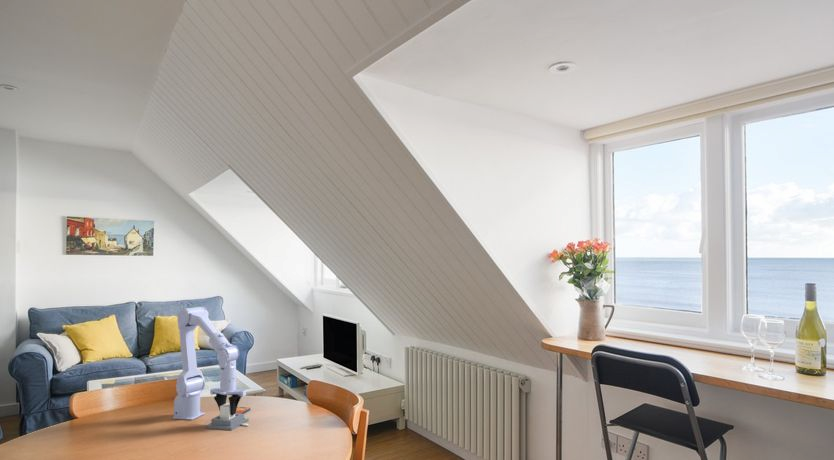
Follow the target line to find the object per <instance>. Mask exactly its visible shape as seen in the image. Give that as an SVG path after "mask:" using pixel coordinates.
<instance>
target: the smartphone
mask: <svg viewBox="0 0 834 460" xmlns="http://www.w3.org/2000/svg"><path fill="white" fill-rule="evenodd" d="M249 411H251V407H243V406H242V407H241V406H237V409H236V413H240V414H244V415H245V414H246V413H249Z"/></svg>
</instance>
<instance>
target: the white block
mask: <svg viewBox="0 0 834 460" xmlns="http://www.w3.org/2000/svg"><path fill="white" fill-rule="evenodd" d="M219 415H220V419H232V418H234V417H235V414H234V415H231V413H230V402H229V403H228V402H226V404H224V405H222V406H220V410H219Z"/></svg>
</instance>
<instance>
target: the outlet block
mask: <svg viewBox="0 0 834 460" xmlns="http://www.w3.org/2000/svg"><path fill="white" fill-rule="evenodd" d="M210 421H211V422H210V423H207V424H206V425H205V426H206V427H205V428H206V429H211V430H223V431H232V430H235V429H237V428H238V427H240V426H243V427H248V426H249V423H247V422H249V421H250V418H249V417H245V414H240V413H235V417H234V418H232V419H220V414H219V415H217V416H215V417H213V418H211V420H210Z"/></svg>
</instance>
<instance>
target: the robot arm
mask: <svg viewBox="0 0 834 460" xmlns="http://www.w3.org/2000/svg"><path fill="white" fill-rule="evenodd" d="M176 316H177V326H178V327H177V328H178V330H179V331H178V332H179V340H180V341H179V344H180V354H181V355H180V356H181V364H182V367H181V368H182V371H181V372H180V373H179V374H178V376H177V377H176V385H175V390H176V393H177V395H176V396H175V398H174V400H173V416H172V419H175V420H176V419H178V420H188V421H190V420H191V421H192V420H195V419H197V418H200V417H201V416H204V415H205V414H206V412H203V411H201V394H202V393H203V390H204V389H205V387H206V379H205V378H204V375H203V371H202V370H200V369H199V368H198V362H197V354H196V352H197V351H196V343H195V342H196V341H195V333H194V332H195V329H196V328H197V327H200V328H201V330H202V331H203V332H204V333H205V334H206V335H207V337H208V338H209V339H208V344H210V346H211V347H212V348H213V350H214V351H215V352H216V353H217V355H216V360H217V362H218V366H219V368H220V370H219V371H220V376H219V377H220V378H219V381H220V382H219V388H217V387H215V388H214V387H213V388H211V389H209V390H210V392H209V395H211V396H212V395H213V396H214V395H215V396H214V397H213V400H214V401H215V402H216V405H217V407H218V410H219V411H220V406H222V405H224V404H226V403H227V399H228V402H229V403H230V413H231V415H234V414H235V413H236V409H237V407H239V403H240V401H241V399H242V398H243V397H245V396H247V390H246V389H240V388H237V360H238V359H239V358H240V353H241V352H240V350H239V347H238V346H237V345H235V344H232V343H230V341H229V340H228V339H227V338H226V336H225V334H224V333H223V332H218V331H217V329H216V328H215V326H214V325H213V323H212V321H211V320H210V318H209V311H208V310H207V308H206V307H205V306H201V305H200V306H195V307H187V308H181V309H180V310H179V311H178V313H177V315H176ZM228 396H229V397H228ZM227 397H228V398H227Z"/></svg>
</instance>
